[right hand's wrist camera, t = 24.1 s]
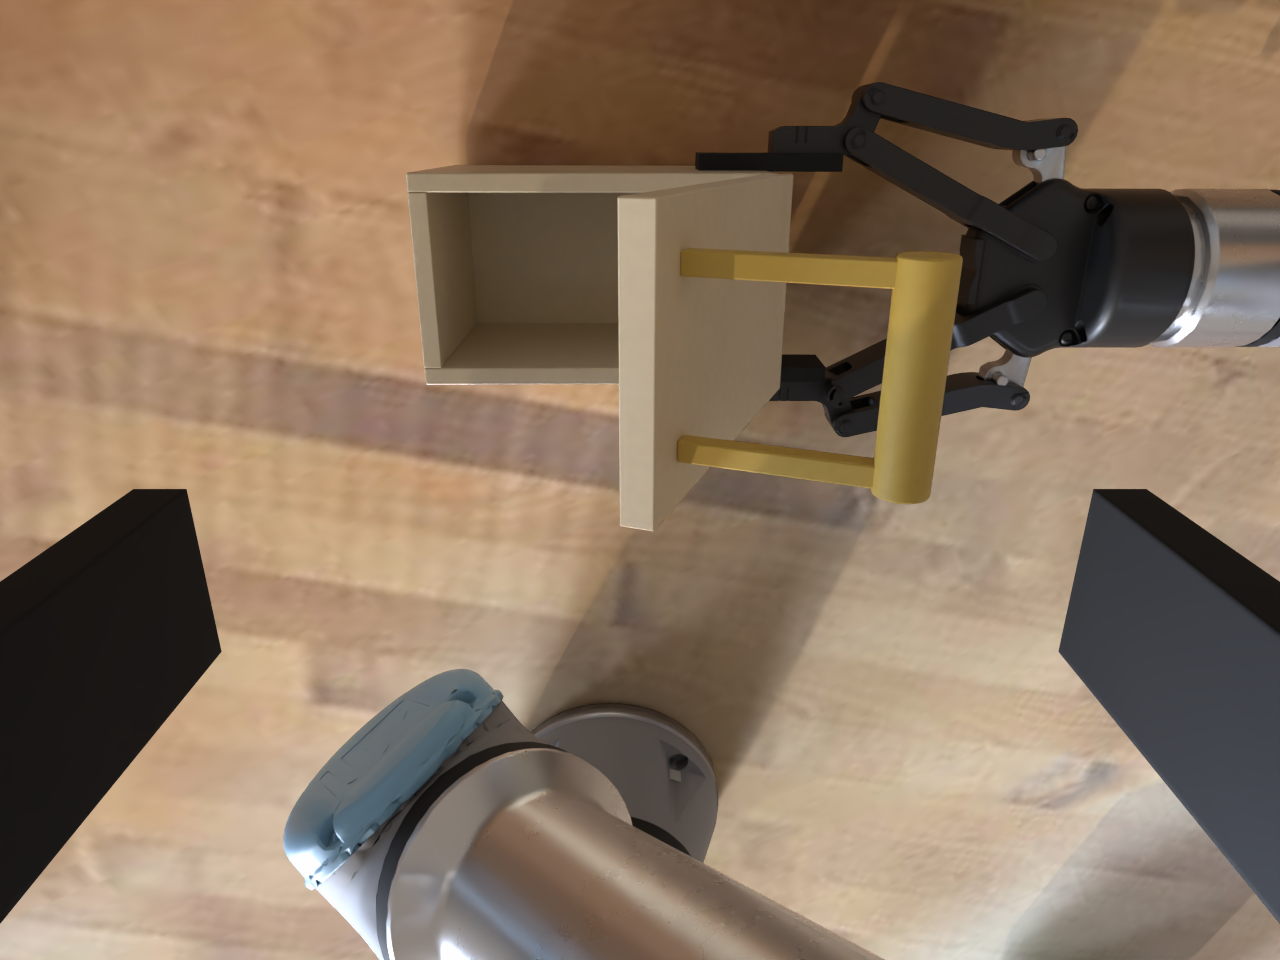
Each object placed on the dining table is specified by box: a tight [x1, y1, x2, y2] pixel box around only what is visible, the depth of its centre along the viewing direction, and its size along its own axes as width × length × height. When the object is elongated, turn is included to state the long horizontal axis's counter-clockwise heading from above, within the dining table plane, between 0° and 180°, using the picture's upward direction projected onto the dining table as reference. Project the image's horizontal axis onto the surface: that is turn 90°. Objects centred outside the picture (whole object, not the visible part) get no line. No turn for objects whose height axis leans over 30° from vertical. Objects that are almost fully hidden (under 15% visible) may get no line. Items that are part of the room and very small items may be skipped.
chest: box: [406, 165, 777, 385], centre depth 43 cm, size 16×9×11 cm, turn 90°
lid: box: [618, 174, 963, 531], centre depth 29 cm, size 16×9×8 cm
